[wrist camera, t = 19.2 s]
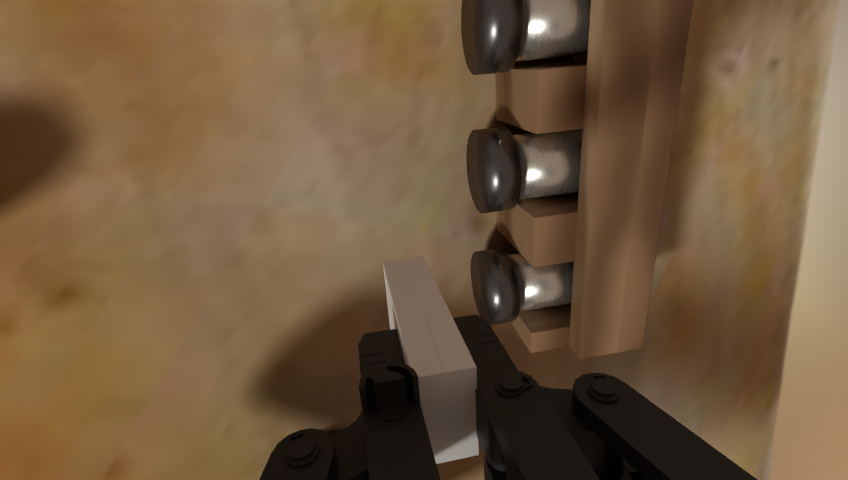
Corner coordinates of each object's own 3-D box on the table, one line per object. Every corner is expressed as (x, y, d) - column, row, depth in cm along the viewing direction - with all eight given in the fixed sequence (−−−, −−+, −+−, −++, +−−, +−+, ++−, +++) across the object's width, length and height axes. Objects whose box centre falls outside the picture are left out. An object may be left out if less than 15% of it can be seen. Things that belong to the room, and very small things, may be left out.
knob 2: (467, 199, 33) (491, 224, 28) (465, 124, 31) (489, 137, 26) (576, 185, 34) (617, 207, 29) (580, 112, 32) (625, 122, 27)
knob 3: (471, 301, 37) (493, 340, 32) (469, 240, 35) (492, 271, 30) (569, 285, 38) (605, 320, 33) (573, 225, 36) (612, 253, 31)
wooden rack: (498, 303, 39) (539, 367, 31) (494, -49, 29) (555, -93, 21) (581, 289, 40) (642, 348, 32) (606, -54, 30) (707, -98, 22)
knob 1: (463, 73, 30) (488, 76, 25) (459, -21, 28) (486, -40, 22) (583, 63, 31) (631, 63, 26) (589, -29, 29) (643, -48, 24)
